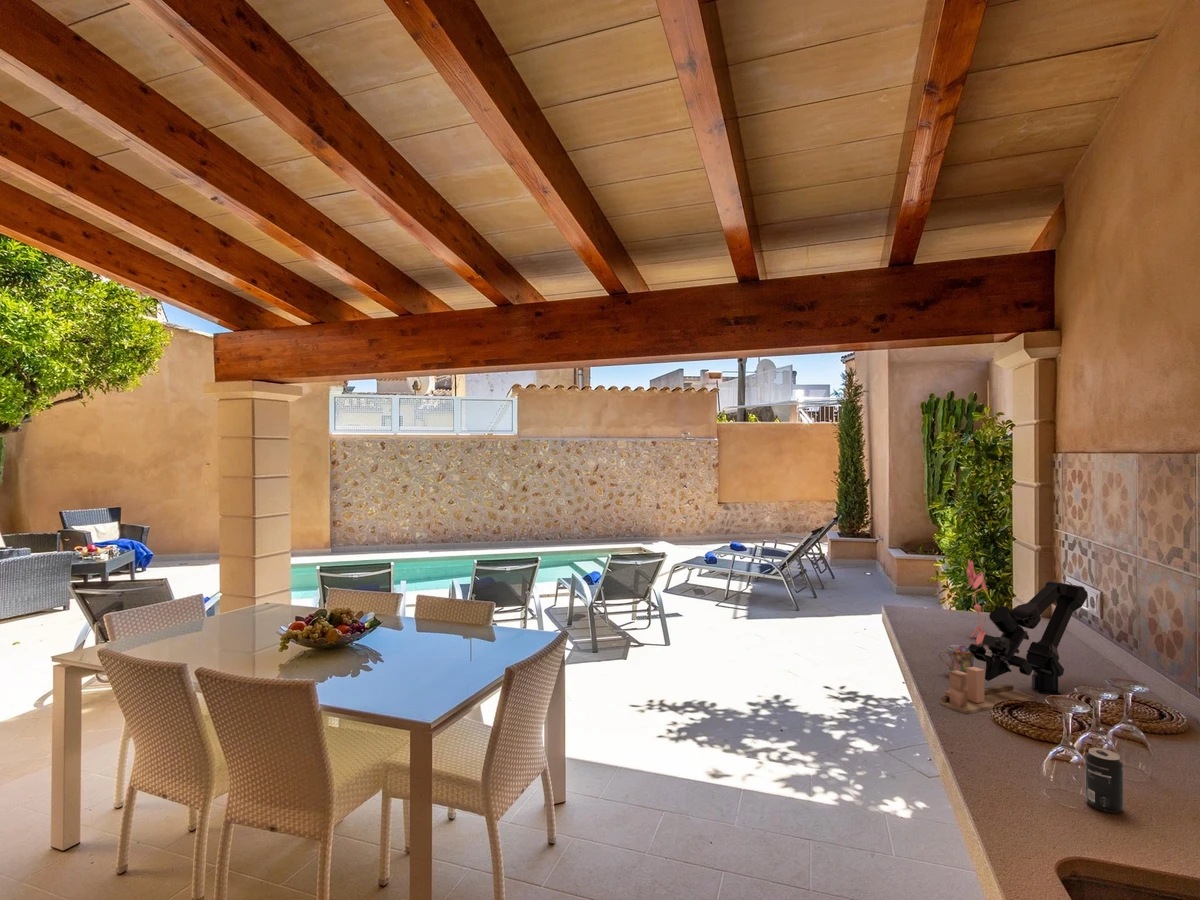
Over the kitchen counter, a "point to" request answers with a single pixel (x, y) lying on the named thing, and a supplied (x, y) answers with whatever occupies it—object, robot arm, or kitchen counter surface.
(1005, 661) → the robot arm
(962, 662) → the mug
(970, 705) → the trammel board
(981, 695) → the block
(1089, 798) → the beverage can
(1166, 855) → the kitchen counter surface
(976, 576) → the figurine
